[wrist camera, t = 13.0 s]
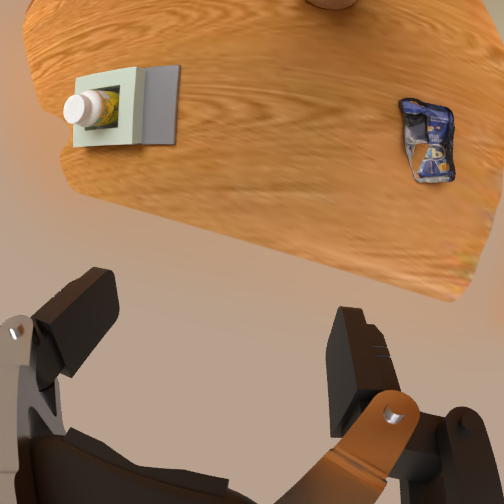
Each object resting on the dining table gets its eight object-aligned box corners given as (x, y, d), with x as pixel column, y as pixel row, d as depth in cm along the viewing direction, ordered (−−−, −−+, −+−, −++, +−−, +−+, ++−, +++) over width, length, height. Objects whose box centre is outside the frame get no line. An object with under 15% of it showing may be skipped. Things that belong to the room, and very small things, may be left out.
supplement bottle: (111, 86, 36) (73, 82, 27) (132, 103, 37) (95, 101, 28) (94, 113, 38) (54, 115, 29) (113, 131, 39) (75, 136, 30)
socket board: (88, 78, 36) (75, 76, 33) (180, 65, 35) (170, 61, 31) (86, 146, 41) (72, 148, 38) (175, 143, 40) (165, 145, 36)
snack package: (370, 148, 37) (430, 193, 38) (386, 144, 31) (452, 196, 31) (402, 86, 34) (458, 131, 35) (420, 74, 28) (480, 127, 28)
